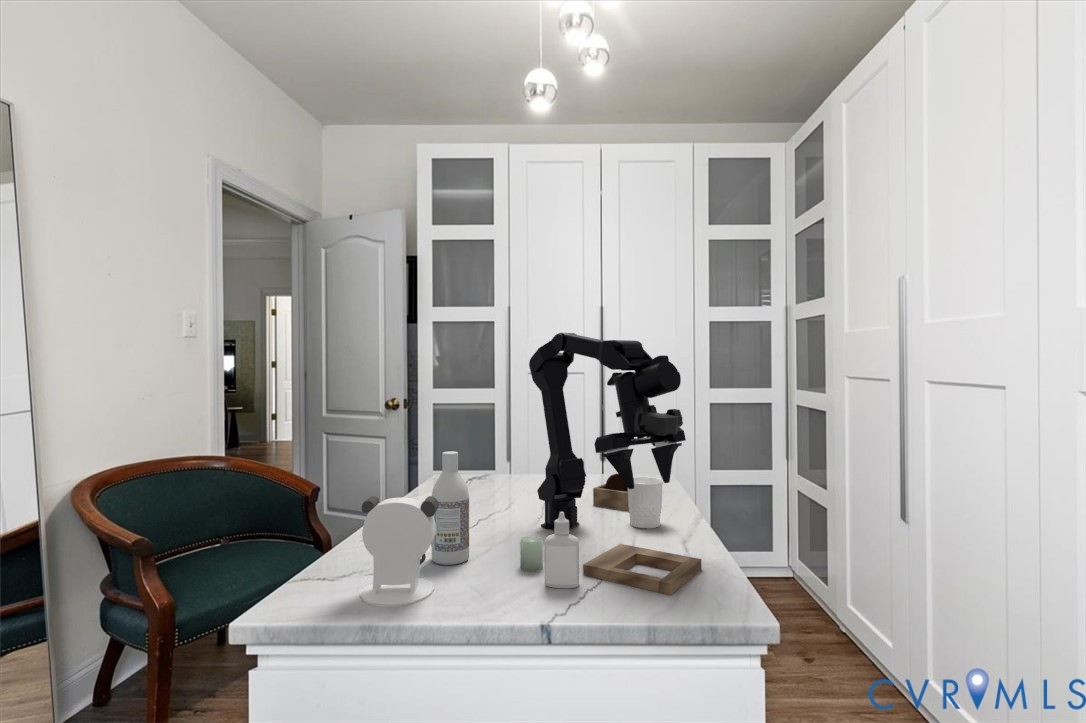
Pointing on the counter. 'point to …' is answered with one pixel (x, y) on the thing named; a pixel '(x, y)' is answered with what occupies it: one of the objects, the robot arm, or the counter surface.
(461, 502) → the bath foam
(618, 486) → the dark brown rounded piece
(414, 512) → the panda figurine
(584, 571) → the walnut square frame
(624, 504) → the walnut watch frame
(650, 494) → the white cup
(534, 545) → the pale green rounded cylinder
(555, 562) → the eye dropper bottle
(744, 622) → the counter surface
